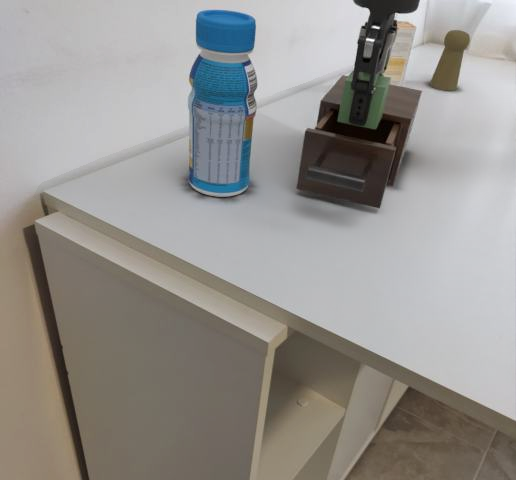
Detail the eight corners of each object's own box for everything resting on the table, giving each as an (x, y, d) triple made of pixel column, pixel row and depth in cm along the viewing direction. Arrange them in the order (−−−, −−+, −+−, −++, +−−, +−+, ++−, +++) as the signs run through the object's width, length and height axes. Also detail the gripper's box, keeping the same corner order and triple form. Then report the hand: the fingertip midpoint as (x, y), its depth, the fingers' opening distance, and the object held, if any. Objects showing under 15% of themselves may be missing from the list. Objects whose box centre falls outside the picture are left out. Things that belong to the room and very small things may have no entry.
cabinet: (392, 186, 78) (411, 118, 71) (309, 167, 80) (320, 100, 74) (405, 152, 88) (422, 90, 82) (331, 136, 91) (342, 75, 84)
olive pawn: (455, 92, 118) (473, 36, 110) (427, 87, 119) (443, 31, 112) (457, 85, 122) (475, 31, 115) (431, 80, 123) (446, 26, 116)
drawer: (372, 228, 66) (388, 167, 61) (284, 206, 68) (292, 146, 63) (393, 170, 80) (408, 117, 75) (320, 154, 82) (329, 101, 77)
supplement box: (391, 91, 114) (408, 20, 105) (399, 98, 110) (417, 26, 102) (354, 89, 112) (368, 17, 104) (361, 97, 109) (377, 23, 100)
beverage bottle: (205, 203, 68) (210, 25, 55) (176, 176, 73) (175, 7, 60) (261, 192, 72) (278, 23, 59) (230, 167, 77) (239, 6, 64)
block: (345, 110, 72) (352, 70, 69) (381, 118, 71) (391, 77, 68) (337, 121, 68) (344, 80, 65) (375, 129, 67) (385, 87, 64)
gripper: (371, -53, 64) (344, 96, 75) (348, -43, 54) (319, 128, 65) (434, -44, 63) (396, 107, 74) (422, -32, 52) (380, 141, 64)
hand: (361, 116), depth 69 cm, fingers closed on block, 5 cm apart
